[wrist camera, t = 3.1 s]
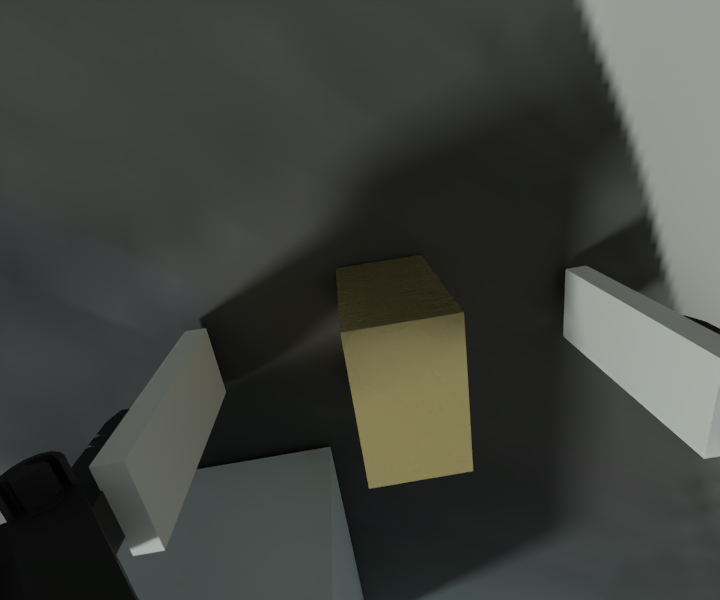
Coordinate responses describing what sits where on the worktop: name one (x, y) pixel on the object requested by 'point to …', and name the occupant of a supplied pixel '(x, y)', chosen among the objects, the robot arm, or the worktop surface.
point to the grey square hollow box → (255, 536)
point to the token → (405, 370)
